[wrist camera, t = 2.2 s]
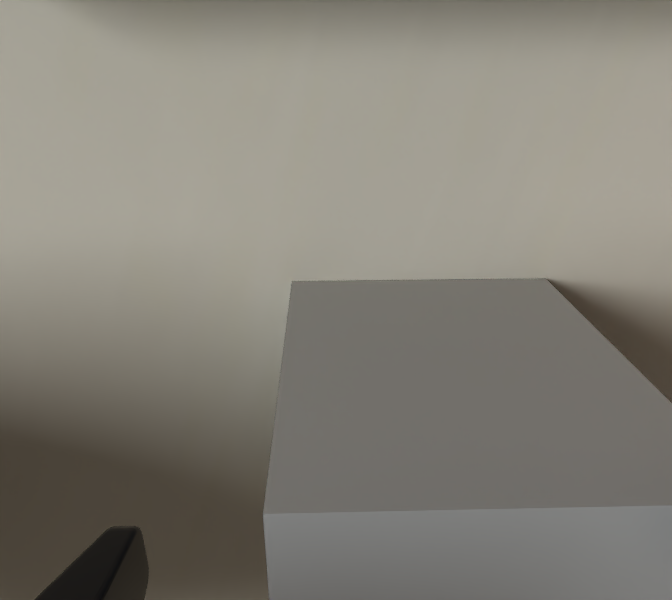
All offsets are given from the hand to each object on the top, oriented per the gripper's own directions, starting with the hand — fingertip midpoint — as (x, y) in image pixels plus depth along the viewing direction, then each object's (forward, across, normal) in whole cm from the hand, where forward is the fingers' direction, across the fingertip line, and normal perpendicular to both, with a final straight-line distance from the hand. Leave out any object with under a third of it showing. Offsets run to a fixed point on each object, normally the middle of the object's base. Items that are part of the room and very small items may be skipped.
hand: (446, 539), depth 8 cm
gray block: (+4, 0, 0) cm, 4 cm away
